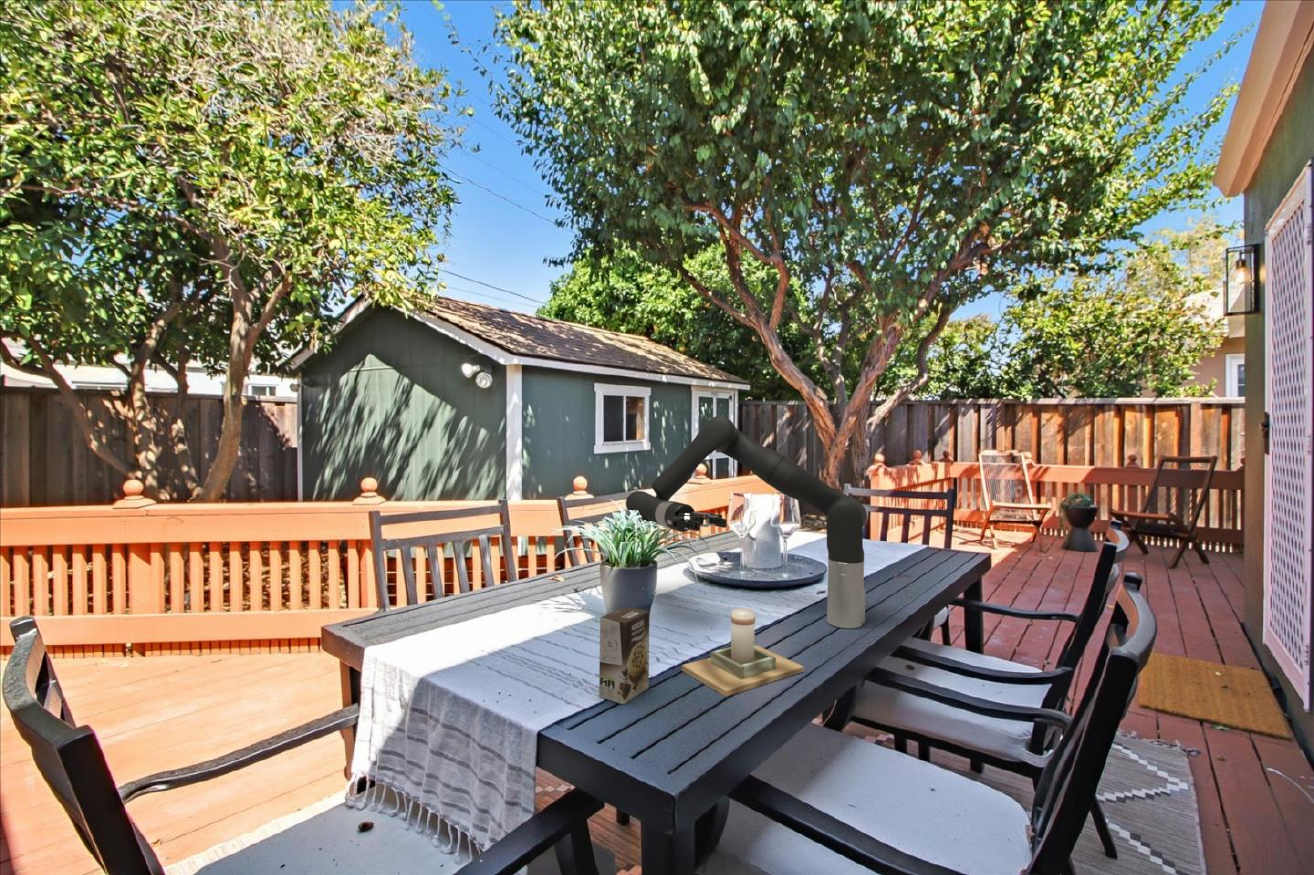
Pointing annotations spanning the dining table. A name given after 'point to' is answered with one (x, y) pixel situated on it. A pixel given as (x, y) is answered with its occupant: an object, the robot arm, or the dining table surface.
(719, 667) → the end holder
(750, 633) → the cream lidded bottle
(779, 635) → the dining table surface
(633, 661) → the coffee box
